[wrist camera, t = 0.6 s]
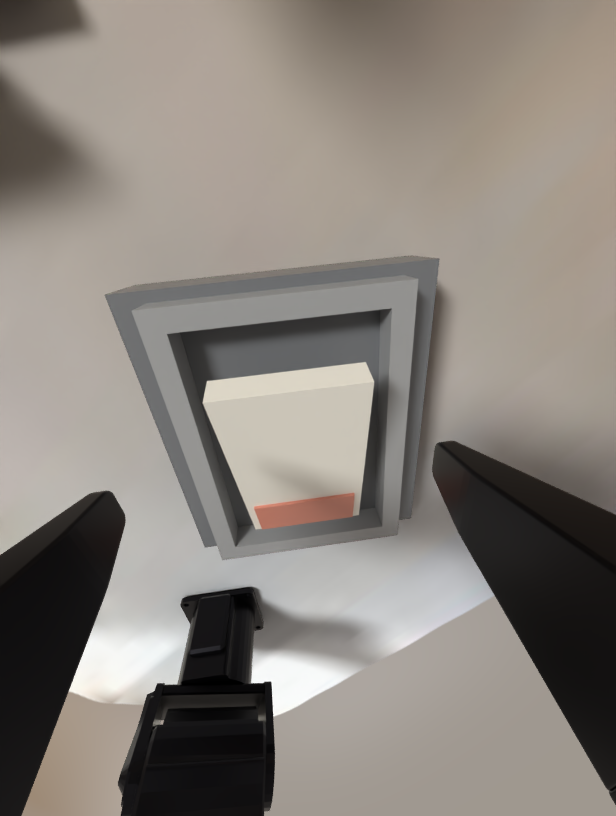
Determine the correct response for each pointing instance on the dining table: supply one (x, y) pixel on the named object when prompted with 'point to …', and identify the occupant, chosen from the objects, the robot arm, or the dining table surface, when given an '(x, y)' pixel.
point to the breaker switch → (295, 441)
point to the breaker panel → (280, 352)
